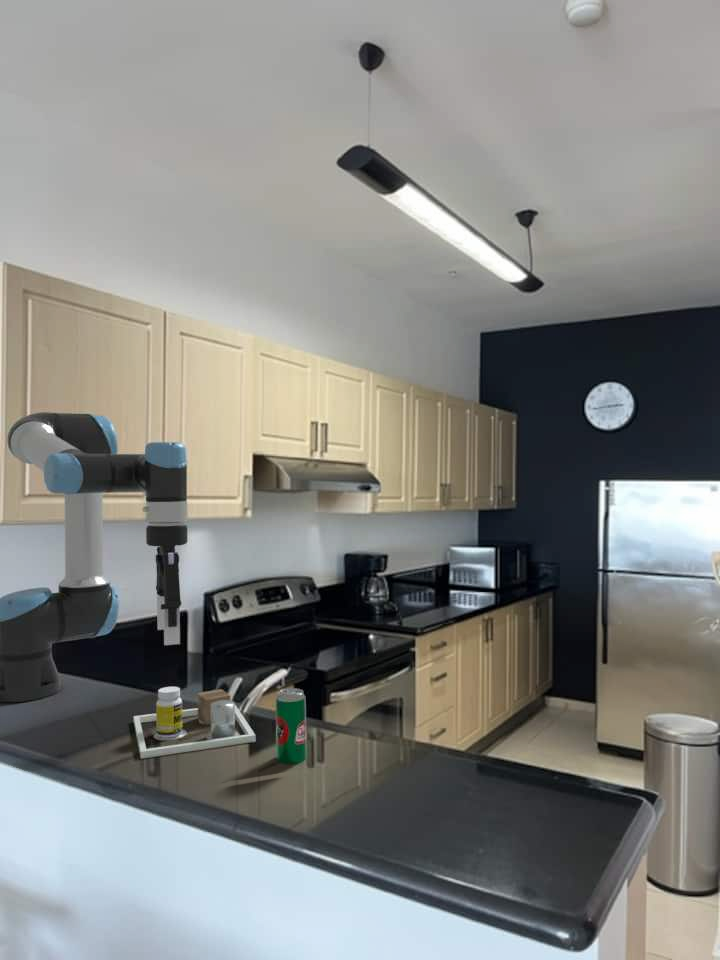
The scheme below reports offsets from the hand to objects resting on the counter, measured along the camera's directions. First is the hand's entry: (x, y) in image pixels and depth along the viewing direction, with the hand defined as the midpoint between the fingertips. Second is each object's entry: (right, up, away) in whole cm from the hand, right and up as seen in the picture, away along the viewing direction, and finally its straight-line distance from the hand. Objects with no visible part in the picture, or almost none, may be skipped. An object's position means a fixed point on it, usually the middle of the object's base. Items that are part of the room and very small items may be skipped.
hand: (168, 636), depth 135 cm
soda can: (+25, -19, -13) cm, 34 cm away
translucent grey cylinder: (+11, -18, -2) cm, 21 cm away
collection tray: (+4, -19, +1) cm, 19 cm away
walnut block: (+7, -18, +7) cm, 21 cm away
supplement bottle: (0, -18, -1) cm, 18 cm away
